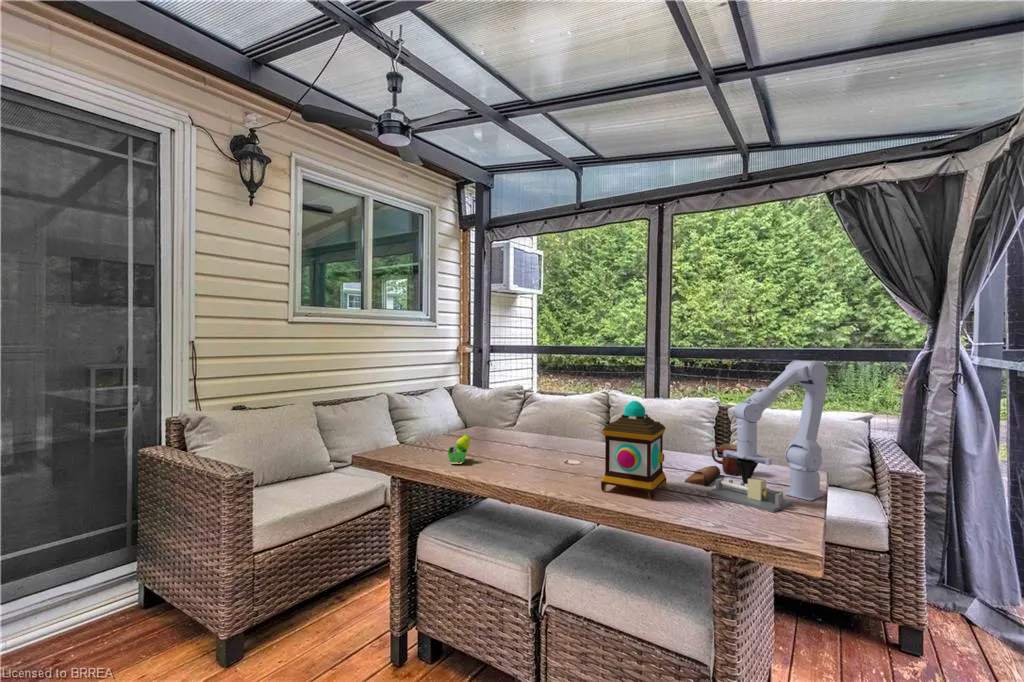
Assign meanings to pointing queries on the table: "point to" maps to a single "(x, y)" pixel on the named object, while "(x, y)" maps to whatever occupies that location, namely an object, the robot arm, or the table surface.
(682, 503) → the table surface
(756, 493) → the cream block on rod
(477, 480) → the table surface
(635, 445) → the decorative lantern
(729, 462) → the mug
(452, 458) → the fruit basket
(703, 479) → the sunglasses case
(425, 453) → the table surface
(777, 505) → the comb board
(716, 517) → the table surface
